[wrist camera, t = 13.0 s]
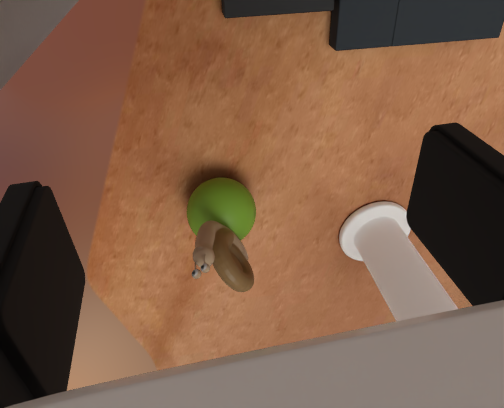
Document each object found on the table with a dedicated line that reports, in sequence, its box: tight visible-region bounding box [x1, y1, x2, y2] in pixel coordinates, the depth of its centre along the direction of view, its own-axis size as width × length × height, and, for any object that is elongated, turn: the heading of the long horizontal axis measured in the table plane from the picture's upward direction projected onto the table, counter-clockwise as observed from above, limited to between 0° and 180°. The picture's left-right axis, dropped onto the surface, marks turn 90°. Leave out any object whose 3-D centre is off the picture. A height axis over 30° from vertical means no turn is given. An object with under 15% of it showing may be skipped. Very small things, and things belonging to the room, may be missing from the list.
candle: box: [339, 201, 458, 321], centre depth 31 cm, size 7×7×25 cm
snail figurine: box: [187, 178, 256, 292], centre depth 30 cm, size 5×6×12 cm
